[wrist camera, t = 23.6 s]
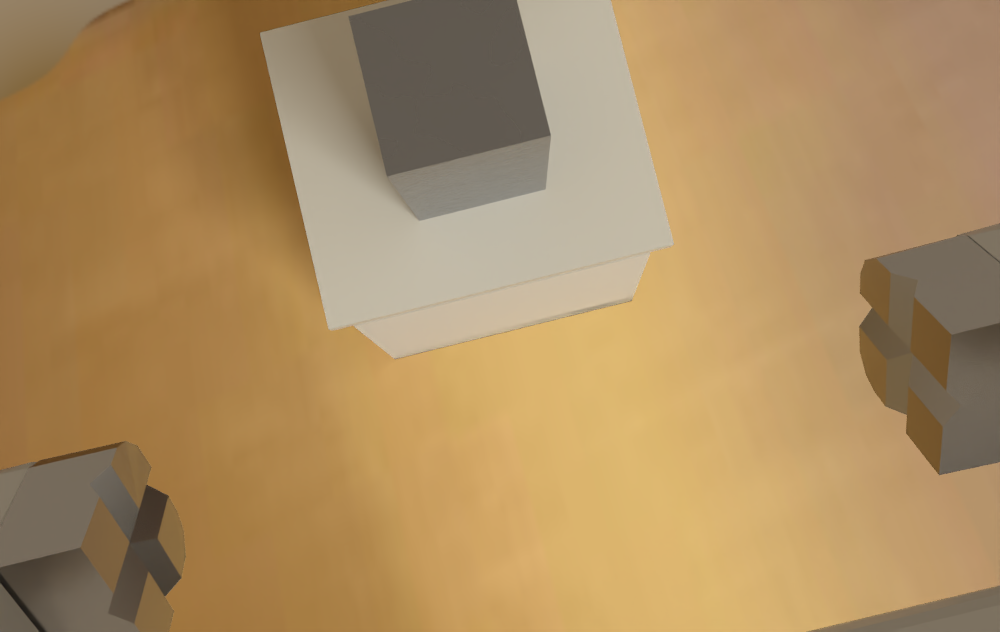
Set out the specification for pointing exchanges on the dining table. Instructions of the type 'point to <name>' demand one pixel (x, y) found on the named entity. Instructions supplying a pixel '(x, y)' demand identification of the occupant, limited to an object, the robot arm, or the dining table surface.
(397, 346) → the carton
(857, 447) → the dining table surface
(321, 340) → the dining table surface
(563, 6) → the lid flap
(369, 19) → the block
